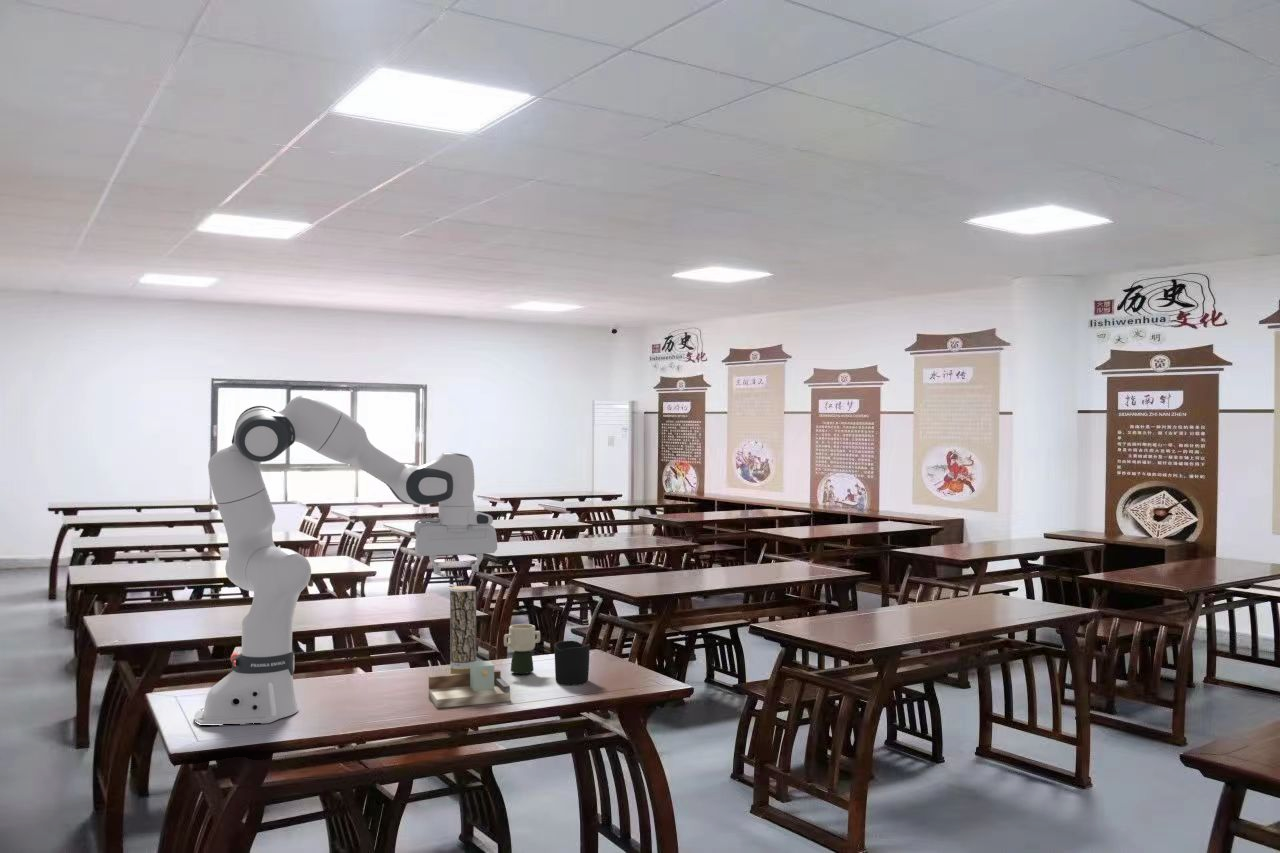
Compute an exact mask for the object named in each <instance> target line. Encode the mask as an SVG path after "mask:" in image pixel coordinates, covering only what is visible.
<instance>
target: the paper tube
mask: <svg viewBox="0 0 1280 853" xmlns="http://www.w3.org/2000/svg"><path fill="white" fill-rule="evenodd" d="M449 593H450V594H449V596H450V597H449V598H450V599H449V606H450V607H449V609H450V610H449V611H450V612H449V613H450V614H449V618H450V620H449V621H450V622H449V629H450V630H449V631H450V632H449V633H450V636H449V638H450V640H449V642H450V646H449V647H450V655H449V656H450V665H449V666H450V674H458V673H470V663H472V662H477V587H476V586H474V585H458V586H456V585H455V586H451V587H450V589H449Z"/></svg>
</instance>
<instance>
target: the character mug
mask: <svg viewBox="0 0 1280 853" xmlns="http://www.w3.org/2000/svg"><path fill="white" fill-rule="evenodd" d="M508 630H509V631H508V633H505V634H504V636H503V646H504V647H509V648H510V650H511V651H513V653H512V655H511V657H512V658H511V663H510V672H511V673H512V672H513V673H515V674H516V675H518V674H529V673H530V674H531V673H532V672H533V671H534V669H535V668H534V661H533V654H532V653H531V651H533V650H534V649H535V647H536V644H538V643H540V642H541V632H540V630H536V626H535V625H533V624H530V623H529V624H528V623H519V624H518V623H516V624H511V625H509V628H508ZM508 639H509V640H508Z"/></svg>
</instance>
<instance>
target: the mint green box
mask: <svg viewBox="0 0 1280 853" xmlns="http://www.w3.org/2000/svg"><path fill="white" fill-rule="evenodd" d="M494 670H495V664H494V663H493V662H492V661H491V660H488V661H476V662H472V663H470V687H471V688H472V689H473V690H474V691H482V690H493V689H494Z"/></svg>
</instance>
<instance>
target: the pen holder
mask: <svg viewBox="0 0 1280 853" xmlns="http://www.w3.org/2000/svg"><path fill="white" fill-rule="evenodd" d="M590 647H591V645H590V643H587V644H582V643H581V642H578V641H576V640H563V641H562V640H561V641H558V642H557V641H556V642H555V643H554V649H553V650H554V672H555V682H556V683H557V684H558V683H559V684H558V685H561V684H563V685H562V686H581V685H585V684H587V683H588V681H589V675H590V674H589V672H590V671H589V670H590V650H591V648H590ZM586 682H587V683H586ZM584 683H585V684H584ZM580 684H581V685H580Z"/></svg>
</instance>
